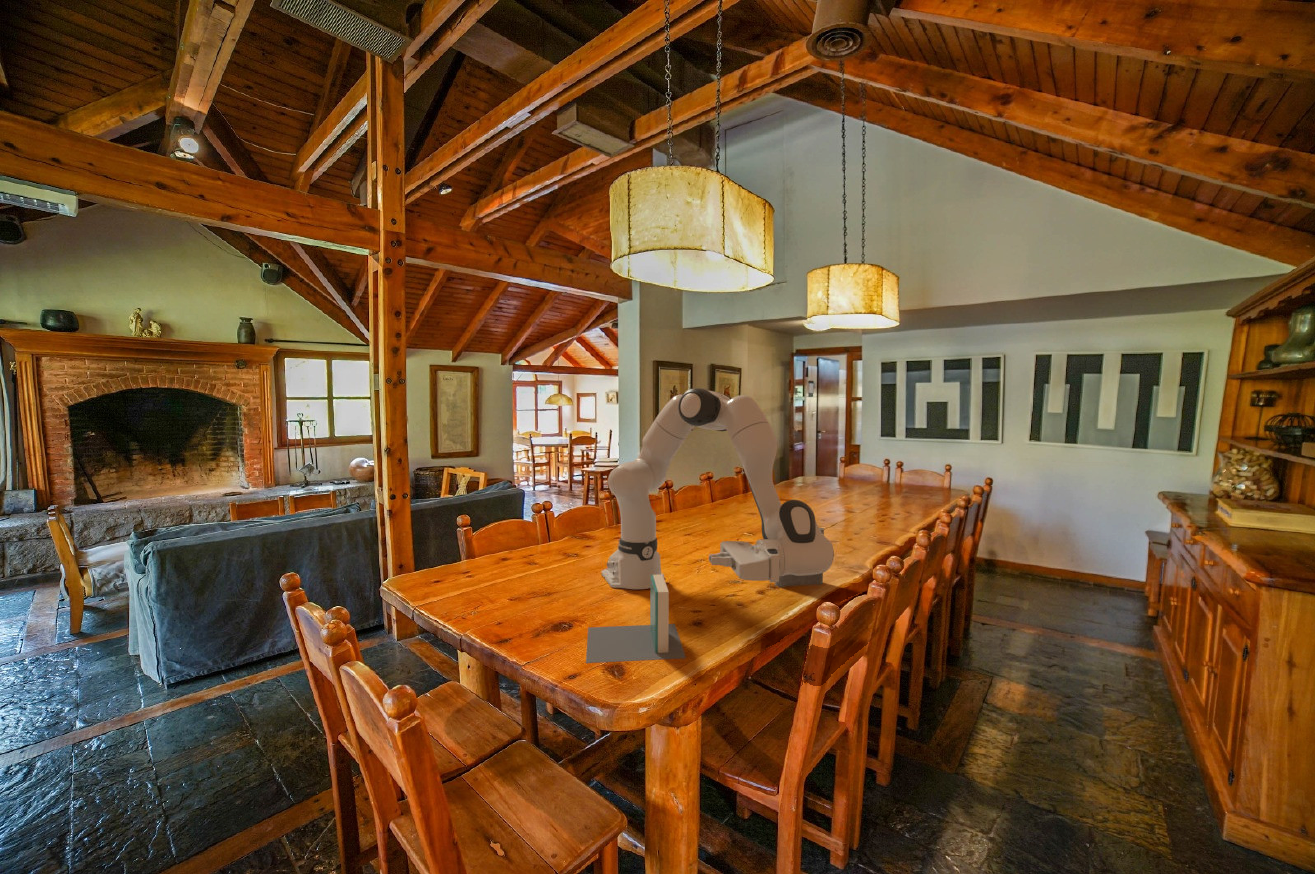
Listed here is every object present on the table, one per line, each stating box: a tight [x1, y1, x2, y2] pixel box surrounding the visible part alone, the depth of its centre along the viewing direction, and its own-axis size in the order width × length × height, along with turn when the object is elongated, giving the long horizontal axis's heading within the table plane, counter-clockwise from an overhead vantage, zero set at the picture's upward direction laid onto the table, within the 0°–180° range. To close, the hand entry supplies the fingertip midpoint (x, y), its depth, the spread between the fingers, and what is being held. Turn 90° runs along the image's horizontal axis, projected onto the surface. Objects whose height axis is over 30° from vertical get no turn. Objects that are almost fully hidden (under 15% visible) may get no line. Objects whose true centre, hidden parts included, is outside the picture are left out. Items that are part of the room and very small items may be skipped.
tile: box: [649, 573, 670, 653], centre depth 122 cm, size 3×12×14 cm, turn 6°
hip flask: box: [774, 527, 825, 588], centre depth 163 cm, size 16×4×20 cm, turn 102°
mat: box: [585, 623, 687, 664], centre depth 122 cm, size 22×18×1 cm
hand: (710, 559), depth 123 cm, fingers closed
